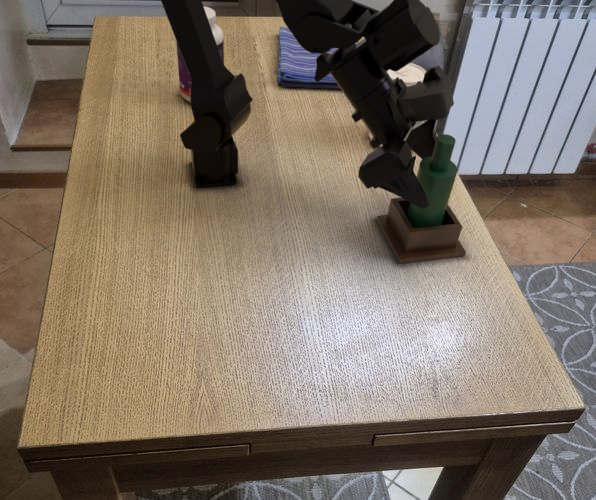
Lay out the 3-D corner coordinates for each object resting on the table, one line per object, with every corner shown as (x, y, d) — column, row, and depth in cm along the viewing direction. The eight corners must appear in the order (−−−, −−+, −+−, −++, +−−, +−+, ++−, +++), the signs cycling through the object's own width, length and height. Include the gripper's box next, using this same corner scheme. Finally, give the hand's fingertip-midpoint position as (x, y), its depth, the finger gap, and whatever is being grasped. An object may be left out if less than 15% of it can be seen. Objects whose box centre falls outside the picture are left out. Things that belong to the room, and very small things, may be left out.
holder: (399, 263, 86) (405, 238, 82) (376, 219, 92) (381, 194, 88) (464, 256, 88) (473, 230, 84) (437, 213, 94) (444, 188, 90)
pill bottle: (187, 109, 109) (180, 24, 98) (175, 88, 114) (168, 4, 103) (230, 104, 111) (229, 20, 100) (217, 83, 116) (215, 1, 105)
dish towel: (277, 88, 116) (277, 73, 114) (277, 35, 132) (277, 21, 130) (367, 93, 117) (369, 79, 115) (356, 40, 133) (358, 26, 131)
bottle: (410, 246, 87) (435, 151, 76) (398, 224, 90) (420, 130, 79) (442, 242, 88) (472, 148, 77) (429, 220, 91) (456, 127, 80)
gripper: (401, 87, 66) (473, 201, 72) (442, 25, 77) (501, 128, 84) (325, 135, 73) (397, 235, 79) (373, 73, 85) (432, 164, 91)
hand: (434, 188), depth 83 cm, fingers open, 9 cm apart
